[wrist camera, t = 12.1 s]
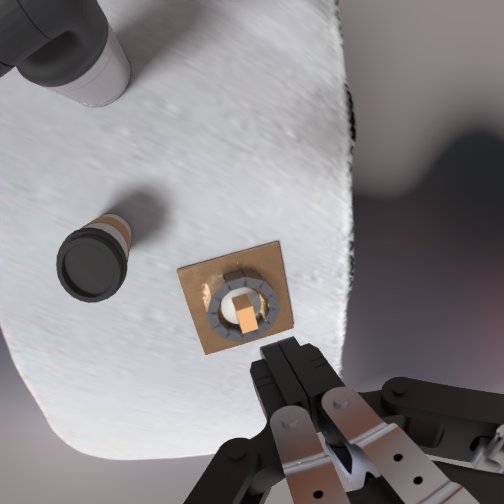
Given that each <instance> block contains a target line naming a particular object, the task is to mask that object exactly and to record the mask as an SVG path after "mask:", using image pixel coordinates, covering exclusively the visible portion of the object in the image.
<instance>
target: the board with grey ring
mask: <svg viewBox="0 0 504 504" xmlns="http://www.w3.org/2000/svg"><path fill="white" fill-rule="evenodd" d="M177 273H178V276H179V280H180V283H181V286H182V289H183V292H184V295H185V298H186V301H187V304H188V307H189V310H190V313H191V316H192V319H193V321H194V324H195V327H196V330H197V333H198V336H199V338H200V341H201V344H202V347H203V350H204V352H205V355H207V354H211V353H214V352H218V351H221V350H225V349H228V348H231V347H235V346H238V345H242V344H245V343H248V342H251V341H255V340H258V339H261V338H264V337H267V336H271V335H274V334H277V333H280V332H283V331H286V330H289V329H292V328H294V326H293V320H292V314H291V308H290V303H289V297H288V291H287V286H286V280H285V275H284V269H283V264H282V258H281V253H280V248H279V243H278V242H277V241H276V242H272V243H268V244H265V245H261V246H258V247H254V248H251V249H247V250H243V251H240V252H236V253H233V254H229V255H226V256H222V257H218V258H215V259H211V260H208V261H204V262H201V263H197V264H194V265H190V266H186V267H183V268H179V269H177ZM242 287H249V288H253V289H254V290H255V291H256V292H257V293H258V295H259V297H260V299H261V309H260V312H259V313H258V315H257V316H256V317H255V318H256V321H257V325H258V329H256V330H253V331H250V332H246V333H243V332H242V330H241V328H240V325H239V324H234V323H231V322H229V321H228V320H226V319H225V317H224V316H223V314H222V311H221V308H220V301H221V300H222V299H223V298H224V297H225V296H226V295H227V294H228V293H229V292H230V291H232V290H235V289H239V288H242Z"/></svg>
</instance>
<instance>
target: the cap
mask: <svg viewBox="0 0 504 504" xmlns="http://www.w3.org/2000/svg"><path fill="white" fill-rule="evenodd" d="M220 308H221V311H222V314H223V316H224V317H225V319H226V320H228V321H229V322H231V323H234V324H239V325H240V328H241V330H242V332H243V333H246V332H250V331H253V330H256V329H258V325H257V321H256V318H255V317H256V316H257V315H258V313H259V312H260V309H261V299H260V297H259V295H258V293H257V292H256V291H255V290H254V289H253V288H249V287H242V288H239V289H235V290H232V291H230V292H229V293H228V294H227V295H226V296H225V297H224V298H223V299H222V300H221V301H220Z"/></svg>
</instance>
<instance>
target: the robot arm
mask: <svg viewBox="0 0 504 504" xmlns="http://www.w3.org/2000/svg"><path fill="white" fill-rule="evenodd" d="M15 66H16V67H17V69H18V71H19V72H20V74H21V75H22V76H23V77H24V78H26V79H27V80H29V81H31V82H33V83H35V84H38V85H40V86H42V87H44V88H47V89H49V90H51V91H54V92H56V93H58V94H61V95H63V96H65V97H67V98H69V99H72V100H74V101H76V102H78V103H81V104H83V105H85V106H89V107H101V106H105V105H107V104H110V103H112V102H113V101H115V100H116V99H117V98H118V97H119V96H120V95H121V94H122V93H123V92H124V90H125V89H126V87H127V85H128V83H129V79H130V65H129V62H128V60H127V58H126V56H125V54H124V52H123V50H122V48H121V46H120V44H119V42H118V40H117V38H116V36H115V34H114V32H113V30H112V28H111V26H110V24H109V22H108V20H107V18H106V16H105V15H104V13H103V11H102V9H101V7H100V6H99V4H98V2H97V0H0V77H2V76H3V75H5V74H6V73H7V72H9V71H10V70H11V69H13V68H14V67H15ZM260 352H261V356H262V359H261V360H258V361H255V362H252V364H251V369H250V374H251V377H252V381H253V384H254V387H255V391H256V394H257V397H258V400H259V402H260V405H261V407H262V410H263V412H264V415H265V417H266V420H267V424H266V426H265V428H264V429H263V430H262V431H261V432H260V433H259V434H258V435H256V436H255V437H253V438H251V439H247V438H234V439H231V440H228V441H226V442H225V443H224V444H223V445H221V447H220V448H219V450H218V451H217V453H216V454H215V456H214V458H213V459H212V461H211V462H210V464H209V465H208V467H207V468H206V470H205V472H204V473H203V475H202V476H201V478H200V479H199V481H198V482H197V484H196V486H195V487H194V488H193V490H192V491H191V493H190V494H189V496H188V497H187V499H186V500H185V502H184V503H183V504H264V502H265V500H266V498H267V496H268V494H269V492H270V490H271V487H272V486H273V485H275V484H276V483H278V482H280V481H281V480H282V479H284V478H285V477H286V480H287V483H288V487H289V489H290V493H291V496H292V499H293V502H294V504H504V394H498V393H491V392H485V391H478V390H471V389H465V388H459V387H453V386H448V385H442V384H437V383H431V382H426V381H421V380H416V379H411V378H406V377H395V378H392V379H390V380H388V381H387V382H385V384H384V385H383V386H382V390H378V391H372V392H365V393H360V392H356V391H355V390H354V389H352V388H348V387H346V386H345V385H344V383H343V382H342V381H341V379H340V378H339V376H338V375H337V374H336V372H335V371H334V369H333V368H332V367H331V365H330V364H329V363H328V361H327V360H326V358H324V356H323V354H322V353H321V351H320V350H319V349H318V348H317V347H315V346H313V345H311V344H309V343H308V344H305V345H302V346H300V345H299V343H298V342H297V340H296V339H295V337H294V336H292V337H289V338H286V339H283V340H280V341H277V342H275V343H272V344H268V345H265V346H262V347H260ZM318 432H322V434H323V436H324V438H325V445H326V447H327V449H328V450H329V452H330V453H331V455H332V456H333V457H334V459H335V461H336V462H337V463H338V465H339V466H340V468H341V469H342V470H343V472H344V473H345V475H346V476H347V478H348V480H349V481H350V485H351V488H352V490H353V491H350V492H345V490H344V488H343V485H342V483H341V481H340V479H339V476H338V474H337V472H336V469H335V467H334V465H333V463H332V460H331V459H330V457H329V456H328V455H326V453H325V451H324V449H323V447H322V444H321V442H320V440H319V437H318V435H317V433H318ZM425 454H429V455H433V456H438V457H443V458H448V459H453V460H459V461H465V462H471V464H472V466H473V468H474V469H472V468H467V467H463V466H458V465H453V464H449V463H445V462H440V461H433V460H430V459H429V458H428V457H427V456H426V455H425Z"/></svg>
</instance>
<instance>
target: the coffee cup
mask: <svg viewBox="0 0 504 504" xmlns="http://www.w3.org/2000/svg"><path fill="white" fill-rule="evenodd" d="M130 245H131V230H130V227H129V225H128V224H127V222H126V221H125V220H124V219H123V218H121V217H119V216H118V215H114V214H106V215H103V216H100V217H99V218H96V219H95V220H93V221H91V222H90V223H88V224H87V225H85V226H84V227H82V228H81V229H79V230H76V231H74V232H73V233H71V234H70V235H69V236H68V237H67V238H66V239H65V241H64V242H63V243H62V245H61V247H60V249H59V252H58V255H57V263H56V266H57V274H58V278H59V280H60V282H61V285H62V286H63V287H64V289H65V290H66V291H67V292H68V293H69V294H70V295H71V296H73V297H74V298H76V299H78V300H80V301H84V302H88V303H91V302H99V301H102V300H105V299H108V298H109V297H111V296H112V295H114V294H115V293H116V292H117V291H118V289H119V288H120V287H121V285H122V284H123V282H124V279H125V277H126V273H127V262H128V256H129V251H130Z"/></svg>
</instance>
